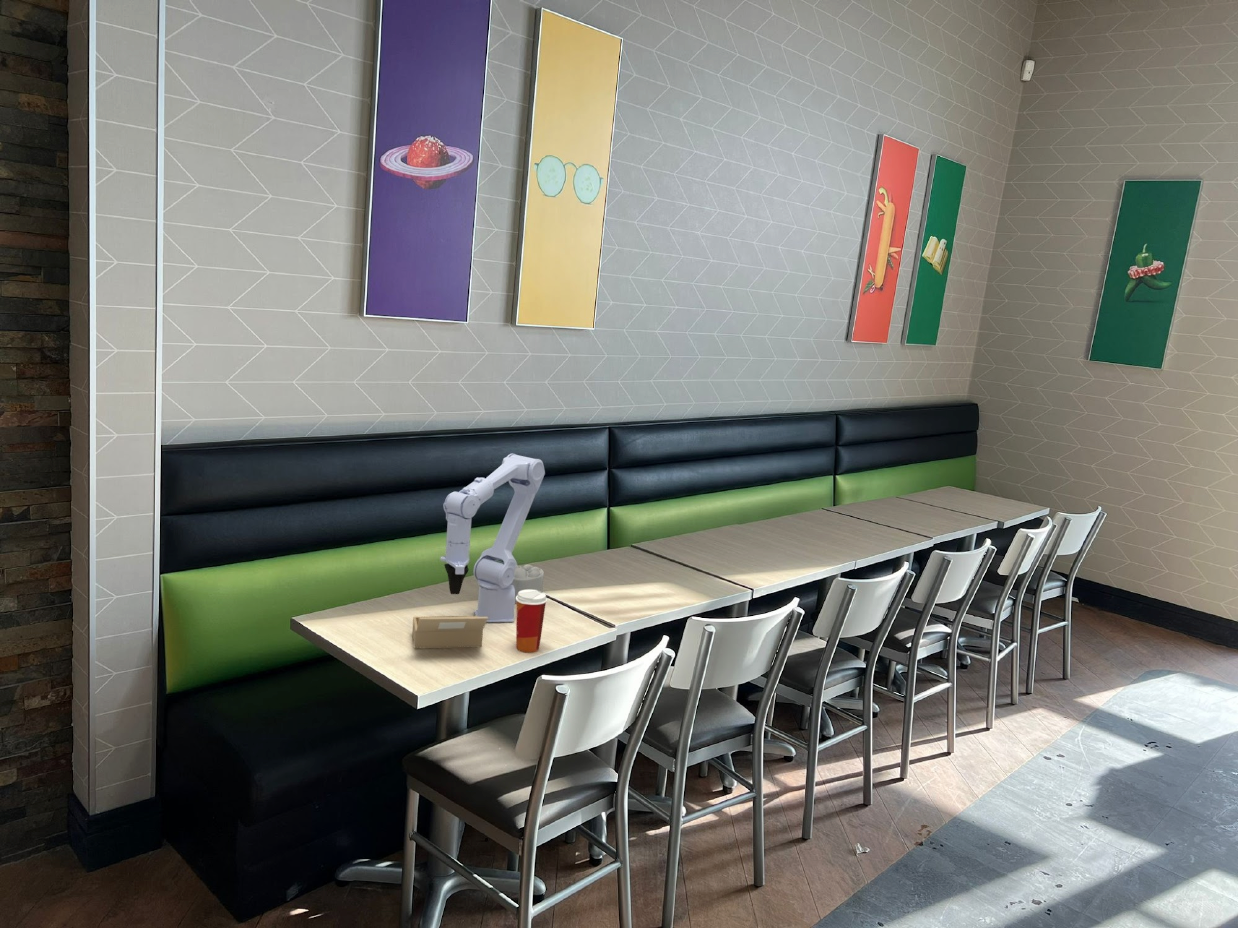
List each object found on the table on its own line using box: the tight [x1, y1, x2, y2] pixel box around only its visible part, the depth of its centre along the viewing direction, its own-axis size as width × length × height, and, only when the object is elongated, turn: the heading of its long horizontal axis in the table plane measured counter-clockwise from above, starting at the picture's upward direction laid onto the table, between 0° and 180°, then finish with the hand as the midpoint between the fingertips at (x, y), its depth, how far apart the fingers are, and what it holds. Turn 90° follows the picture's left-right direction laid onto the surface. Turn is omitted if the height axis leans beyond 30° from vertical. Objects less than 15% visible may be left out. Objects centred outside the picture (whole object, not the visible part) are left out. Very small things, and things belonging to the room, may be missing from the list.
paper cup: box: [515, 590, 548, 654], centre depth 223 cm, size 8×8×14 cm
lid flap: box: [416, 616, 488, 632], centre depth 215 cm, size 16×9×1 cm
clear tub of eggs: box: [510, 563, 545, 605], centre depth 260 cm, size 10×13×9 cm
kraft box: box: [411, 615, 484, 649], centre depth 224 cm, size 16×9×4 cm, turn 106°
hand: (454, 593), depth 227 cm, fingers closed
